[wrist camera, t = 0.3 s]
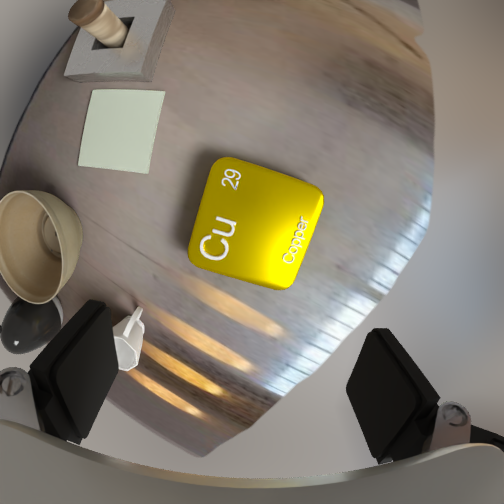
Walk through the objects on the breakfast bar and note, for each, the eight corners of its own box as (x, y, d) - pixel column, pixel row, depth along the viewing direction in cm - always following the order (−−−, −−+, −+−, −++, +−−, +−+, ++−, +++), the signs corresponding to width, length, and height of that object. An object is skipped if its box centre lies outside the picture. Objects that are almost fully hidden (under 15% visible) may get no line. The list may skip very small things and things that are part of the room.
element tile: (285, 282, 42) (290, 296, 38) (189, 253, 40) (182, 265, 36) (320, 188, 38) (330, 191, 34) (218, 153, 36) (215, 152, 32)
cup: (110, 329, 44) (92, 355, 36) (127, 287, 41) (107, 311, 34) (144, 348, 45) (131, 378, 37) (165, 309, 43) (151, 337, 35)
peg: (117, 34, 29) (76, -3, 15) (140, 33, 29) (104, -9, 16) (109, 56, 30) (63, 24, 17) (132, 55, 30) (91, 18, 17)
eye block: (104, 15, 27) (91, 4, 22) (175, 11, 28) (168, -5, 24) (80, 82, 31) (63, 75, 26) (151, 81, 32) (140, 72, 27)
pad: (94, 90, 32) (93, 89, 31) (165, 92, 33) (164, 91, 32) (79, 165, 35) (78, 165, 34) (148, 173, 36) (146, 173, 36)
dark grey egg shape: (33, 269, 40) (-18, 304, 25) (73, 294, 41) (26, 339, 27) (30, 310, 42) (-11, 349, 28) (68, 334, 44) (30, 382, 30)
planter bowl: (76, 163, 35) (33, 167, 25) (116, 256, 40) (83, 284, 29) (19, 209, 36) (-21, 223, 26) (55, 287, 41) (21, 315, 31)
